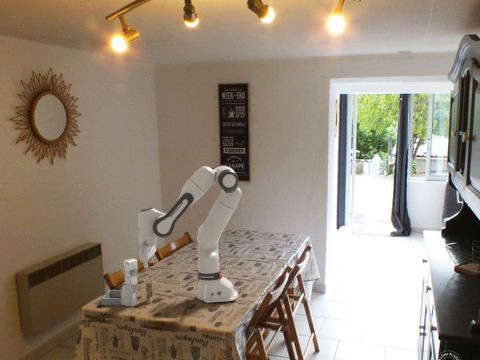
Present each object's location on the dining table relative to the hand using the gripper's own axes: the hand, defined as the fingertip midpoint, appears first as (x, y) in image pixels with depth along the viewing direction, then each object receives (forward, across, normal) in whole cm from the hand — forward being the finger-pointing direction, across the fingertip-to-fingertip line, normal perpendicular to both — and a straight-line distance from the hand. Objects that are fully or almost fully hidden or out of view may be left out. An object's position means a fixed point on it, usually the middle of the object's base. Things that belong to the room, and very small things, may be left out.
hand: (148, 265), depth 219 cm
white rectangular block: (+19, -5, +10) cm, 22 cm away
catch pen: (+19, 0, +18) cm, 27 cm away
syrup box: (+19, +25, +18) cm, 36 cm away
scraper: (+19, 0, 0) cm, 19 cm away
